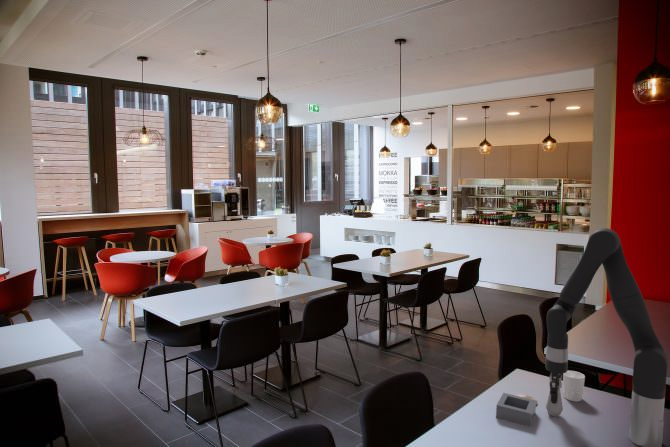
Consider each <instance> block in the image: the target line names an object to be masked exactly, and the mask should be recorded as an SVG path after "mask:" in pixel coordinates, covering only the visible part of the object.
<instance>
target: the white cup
mask: <svg viewBox="0 0 670 447" xmlns="http://www.w3.org/2000/svg"><path fill="white" fill-rule="evenodd" d="M585 380H586V376H585V374H583V373H581V372H579V371H575V370H567V372H566V373H563V374H562V386H563V387H562V389H563V390H562V391H563V398H564V399H566V400H568V401H571V402H576V403H577V402H581V401H582V400H583V395H584V394H583V393H584V387H585Z"/></svg>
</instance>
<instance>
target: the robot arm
mask: <svg viewBox="0 0 670 447" xmlns="http://www.w3.org/2000/svg"><path fill="white" fill-rule="evenodd" d="M585 246H586V247H585V248H584V251H583V254H582V255H581V259H580V260H579V262H578V264H577V265H576V267H575V269H574V270H573V272H572V273H571V274H570V276H569V278H568V279H567V281H566V282H565V284H564V285H563V288H562V289H561V291H560V293H559V297H558V299H557V300H556V301H555V303H554V304H553V306H552V307H551V308H549V309H548V311H547V313H546V329H547V341H546V342H547V343H546V350H545V365H544V366H545V369H546V370H547V371H548V372H550V374H549V378H548V379H549V381H550V385H549V393H550V394H551V402H552V403H554V404H556V402H557V399H558V390H559V389H560V390H561V388H560V382H561V383H562V381H563V373H566V372H567V371H568V365H569V362H568V361H569V346H568V345H569V334H568V332H567V324H568V321H569V320H570V319H571V317H572V316H573V314H574V312H575V310H576V308H577V306H578V305H579V303H581V300H582V299H583V297H584V296H585V294H586V293H587V291H588V289H589V287H590V286H591V284H592V281H593V280H594V277H595V275H596V274H597V272H598V270H599V269H600V267H601V266H603V269H604V273H605V279H606V284H607V290H608V293H609V294H608V295H609V297H610V299H611V302H612V305H613V307H614V310H615V312H616V313H617V315H618V317H619V318H620V320H621V322H622V323H623V325H624V326H625V328H626V330H627V331H628V333H629V335H630V338H631V341H632V344H633V347H634V352H635V356H634V358H633V368H632V369H633V370H632V391H631V403H630V404H631V405H630V417H629V429H628V439H629V441H631V442H632V443H633V444H635V445H637V446H639V447H662V444H663V437H664V436H663V433H664V424H665V423H664V412H665V401H666V400H665V399H666V389H667V386H666V385H667V376H668V375H667V374H668V364H669V360H668V359H669V358H668V355H667V353H666V351H665V349H664V347H663V346H662V344H661V342H660V340H659V338H658V337H657V335H656V333H655V329H654V327H653V325H652V321H651V317H650V313H649V311H648V308H647V305H646V303H645V299H644V297H643V295H642V292H641V290H640V288H639V286H638V283H637V282H636V279H635V277H634V275H633V273H632V271H631V269H630V267H629V265H628V263H627V260H626V257H625V254H624V249H623V246H622V242H621V238H620V236H619V234H618V233H617V232H616V231H614V230H613V229H611V228H605V227H604V228H600V229H597V230H595V231H594V232H592V233H591V234H590V235H589V236H588V240H587V243H586V245H585ZM554 391H556V392H554Z"/></svg>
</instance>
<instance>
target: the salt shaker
mask: <svg viewBox="0 0 670 447" xmlns="http://www.w3.org/2000/svg"><path fill="white" fill-rule="evenodd" d="M548 385H549V386H550V380H549V382H548ZM562 386H563V382H562V381H561V382H560V389H559V390H558V399H557V402H556V404H554V403H552V402H551V394H550V392H549V393H548V396H547V397H548V398H547V400H546V403H545V409H546V411H547V414H548V415H550V416H552V417H559V416H560V415H561V414H562V412H563V410H564V408H563V402H562V394H561V388H563V387H562ZM554 392H556V391H554Z"/></svg>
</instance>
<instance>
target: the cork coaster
mask: <svg viewBox="0 0 670 447" xmlns="http://www.w3.org/2000/svg"><path fill="white" fill-rule="evenodd" d="M515 396H519V397H523V398H528V399H532V400H536V406H537V405H538V400H537V399H536V398H534V397H533V396H529V395H525V394H516V395H515Z"/></svg>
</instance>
